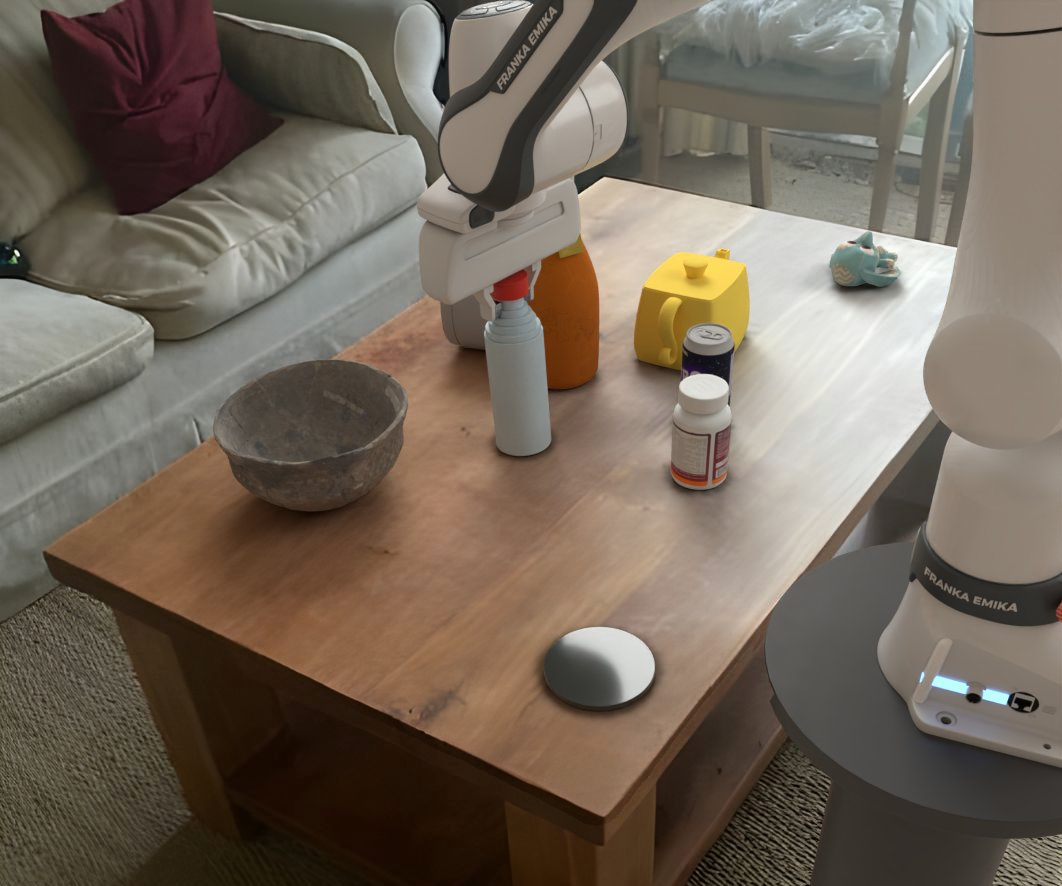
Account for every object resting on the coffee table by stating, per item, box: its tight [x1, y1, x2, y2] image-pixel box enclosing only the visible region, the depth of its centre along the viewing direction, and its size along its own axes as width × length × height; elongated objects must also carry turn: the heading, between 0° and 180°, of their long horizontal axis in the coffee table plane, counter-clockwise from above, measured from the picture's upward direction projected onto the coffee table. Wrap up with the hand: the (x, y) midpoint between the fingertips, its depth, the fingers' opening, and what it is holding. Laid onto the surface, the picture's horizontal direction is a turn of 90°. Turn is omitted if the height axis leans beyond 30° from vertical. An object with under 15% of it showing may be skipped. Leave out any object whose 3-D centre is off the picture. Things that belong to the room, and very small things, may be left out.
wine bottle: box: [527, 232, 600, 390], centre depth 128 cm, size 10×10×30 cm
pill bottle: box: [670, 374, 733, 491], centre depth 117 cm, size 6×6×11 cm
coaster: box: [543, 626, 656, 712], centre depth 98 cm, size 10×10×1 cm
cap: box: [491, 269, 529, 301], centre depth 115 cm, size 4×4×2 cm
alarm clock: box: [439, 293, 497, 351], centre depth 143 cm, size 21×10×13 cm, turn 164°
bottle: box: [484, 297, 552, 457], centre depth 121 cm, size 6×6×20 cm
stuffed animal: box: [828, 230, 901, 288], centre depth 152 cm, size 11×7×12 cm
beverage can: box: [680, 323, 735, 408], centre depth 124 cm, size 6×6×12 cm
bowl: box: [212, 358, 409, 512], centre depth 119 cm, size 21×21×10 cm
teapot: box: [633, 247, 751, 372], centre depth 139 cm, size 20×12×12 cm, turn 150°
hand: (507, 309), depth 117 cm, fingers closed on bottle, 3 cm apart
